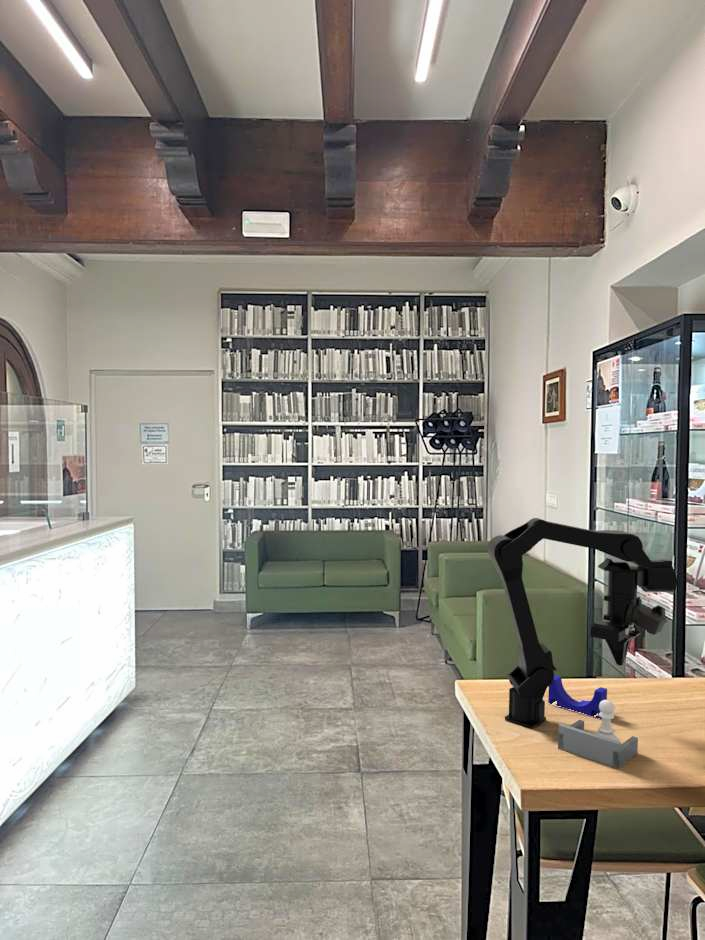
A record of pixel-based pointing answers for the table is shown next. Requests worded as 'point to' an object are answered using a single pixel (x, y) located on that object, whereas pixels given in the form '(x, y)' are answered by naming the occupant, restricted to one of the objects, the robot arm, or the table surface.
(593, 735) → the box
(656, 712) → the table surface
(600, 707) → the chess pawn
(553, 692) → the blue concave cradle
